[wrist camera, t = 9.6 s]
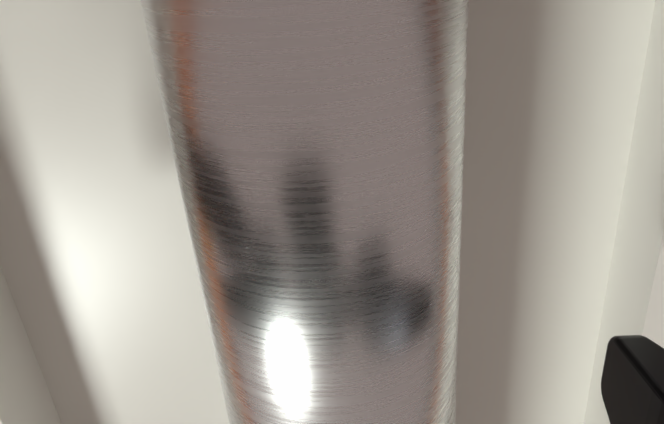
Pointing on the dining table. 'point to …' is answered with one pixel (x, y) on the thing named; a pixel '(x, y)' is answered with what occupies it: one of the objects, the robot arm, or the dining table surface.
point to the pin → (322, 198)
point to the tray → (476, 225)
